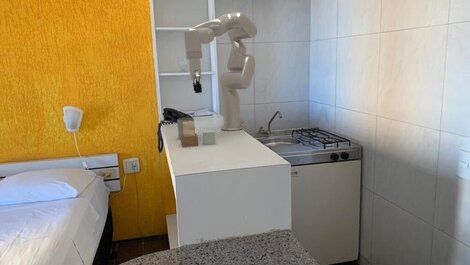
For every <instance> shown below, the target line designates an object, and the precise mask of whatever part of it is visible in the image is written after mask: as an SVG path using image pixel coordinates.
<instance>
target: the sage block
mask: <svg viewBox="0 0 470 265" xmlns="http://www.w3.org/2000/svg"><path fill="white" fill-rule="evenodd" d="M202 135H203V136H202V137H203V144H204V146H215V145H216V133H215V130H214V129H211V130H208V129H207V130H203V131H202Z"/></svg>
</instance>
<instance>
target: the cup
mask: <svg viewBox="0 0 470 265" xmlns="http://www.w3.org/2000/svg"><path fill="white" fill-rule="evenodd" d="M189 121H193V122H194V123H195V118H194V117H182V118H181V117H180V118H177V131H178V132H177V133H178V134H177V135H178V140H180V141H181V134H183V122H189ZM194 132H195V133H196V130H195V126H194Z"/></svg>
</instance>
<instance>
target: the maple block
mask: <svg viewBox="0 0 470 265" xmlns="http://www.w3.org/2000/svg"><path fill="white" fill-rule="evenodd" d="M194 127H195V121H194V122H193V121H189V122H183V135H184V137H185V136H195V133H196V131H195V132H194Z"/></svg>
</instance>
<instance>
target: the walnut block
mask: <svg viewBox="0 0 470 265" xmlns="http://www.w3.org/2000/svg"><path fill="white" fill-rule="evenodd" d="M180 142H181V144H180V145H181V146H182V147H183V148H191V147H192V148H193V147H198V146H199V136H198V134H197V133H196V132H195V136H185V137H184V135H183V134H181V140H180Z"/></svg>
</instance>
